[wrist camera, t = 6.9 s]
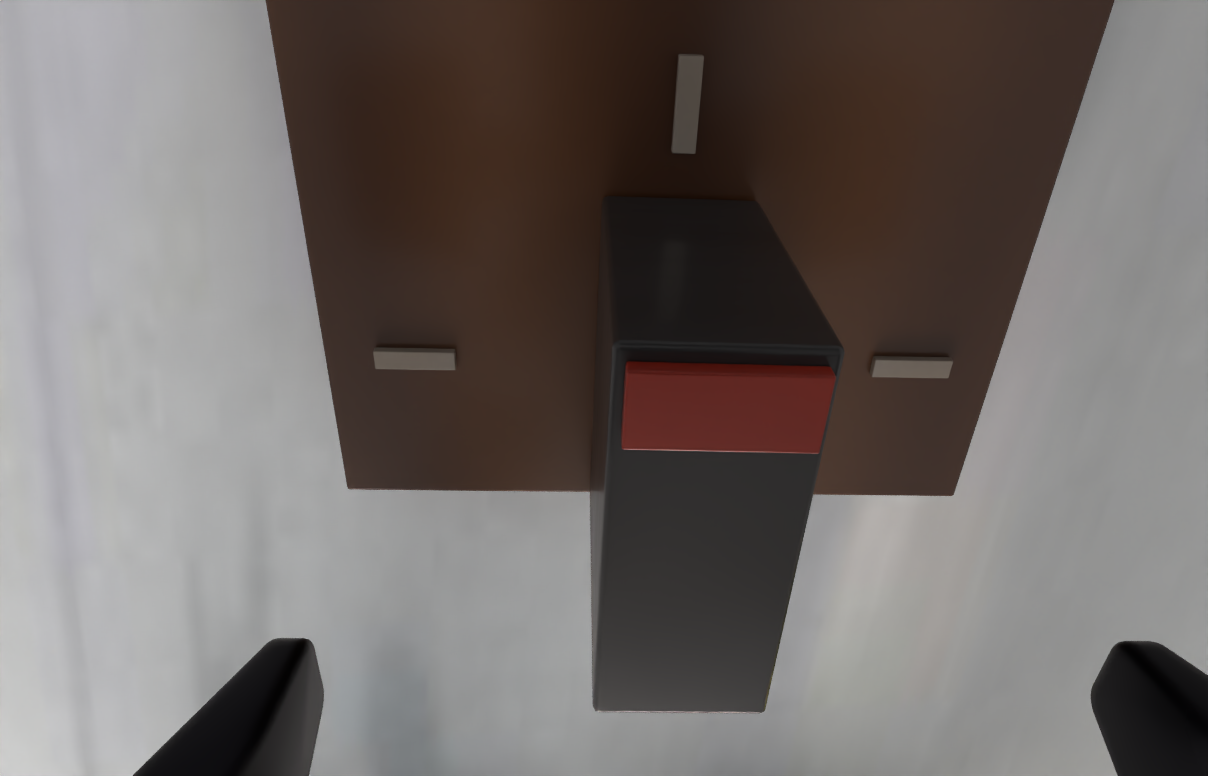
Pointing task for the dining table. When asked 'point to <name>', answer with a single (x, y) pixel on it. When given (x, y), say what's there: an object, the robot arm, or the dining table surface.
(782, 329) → the handle
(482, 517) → the dining table surface
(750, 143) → the panel
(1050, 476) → the dining table surface
